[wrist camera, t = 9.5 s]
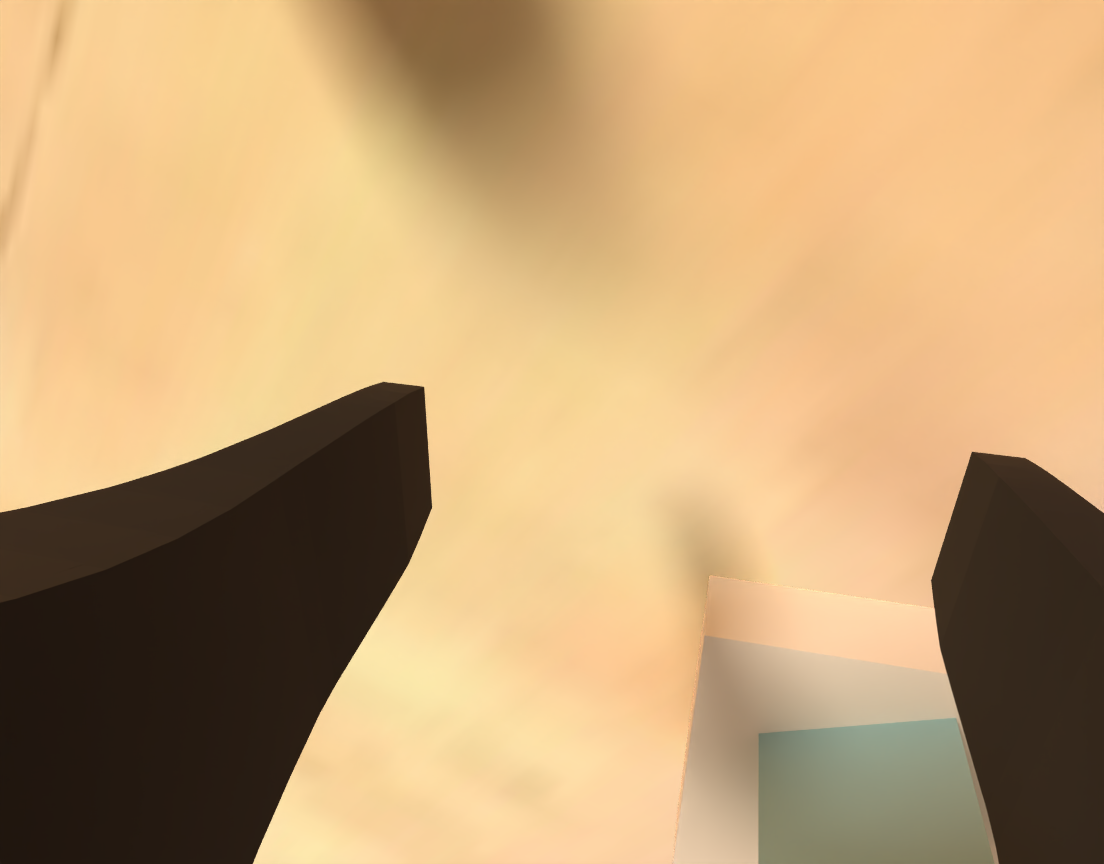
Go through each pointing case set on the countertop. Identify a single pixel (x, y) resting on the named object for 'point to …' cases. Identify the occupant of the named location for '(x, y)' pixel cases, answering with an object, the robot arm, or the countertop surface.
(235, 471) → the robot arm
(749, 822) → the cream block
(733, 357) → the countertop surface
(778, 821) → the teal block
